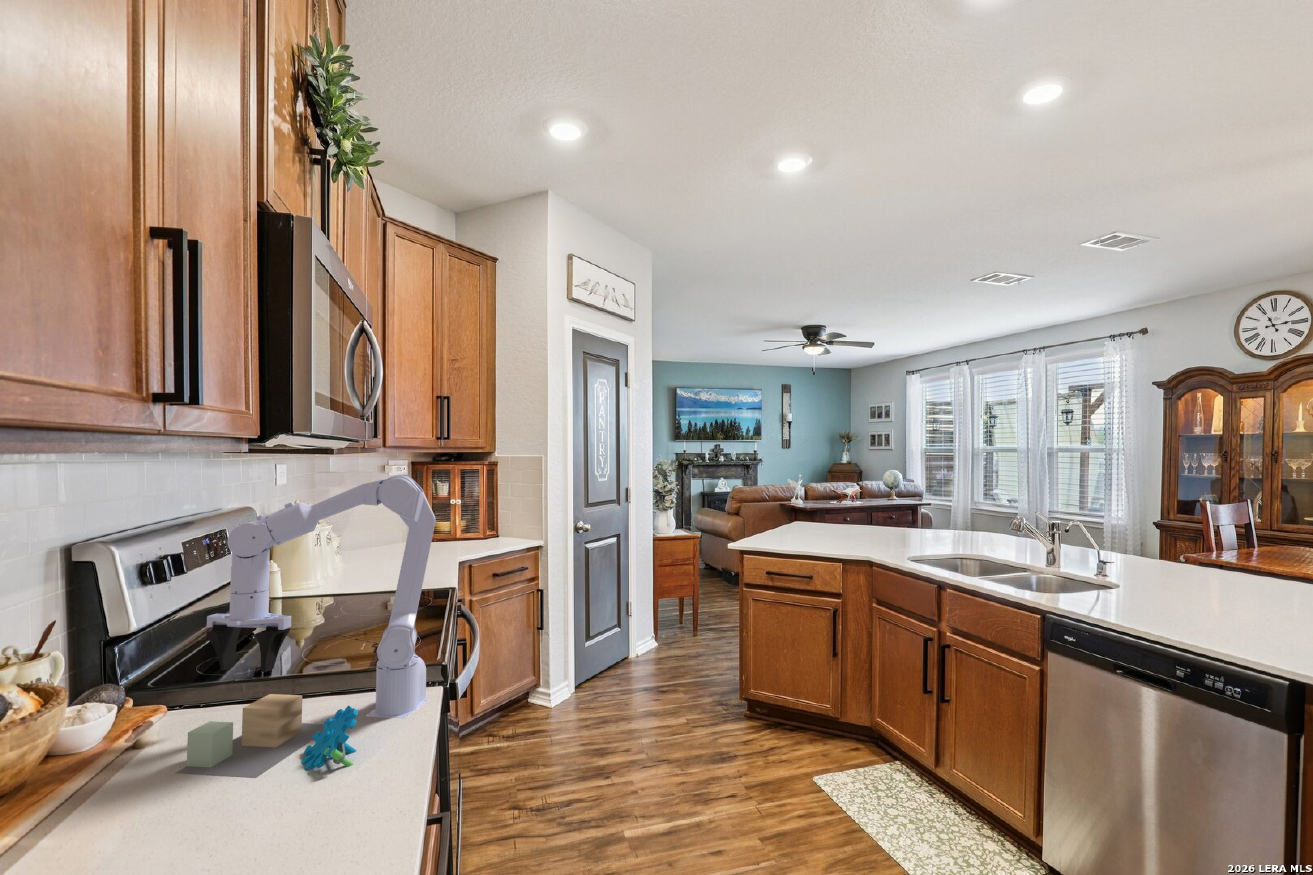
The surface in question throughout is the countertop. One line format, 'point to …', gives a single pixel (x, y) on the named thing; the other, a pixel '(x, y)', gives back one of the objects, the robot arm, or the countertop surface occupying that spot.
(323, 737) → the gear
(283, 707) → the top slab
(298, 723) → the base slab
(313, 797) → the countertop surface
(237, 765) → the mat
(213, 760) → the green block
